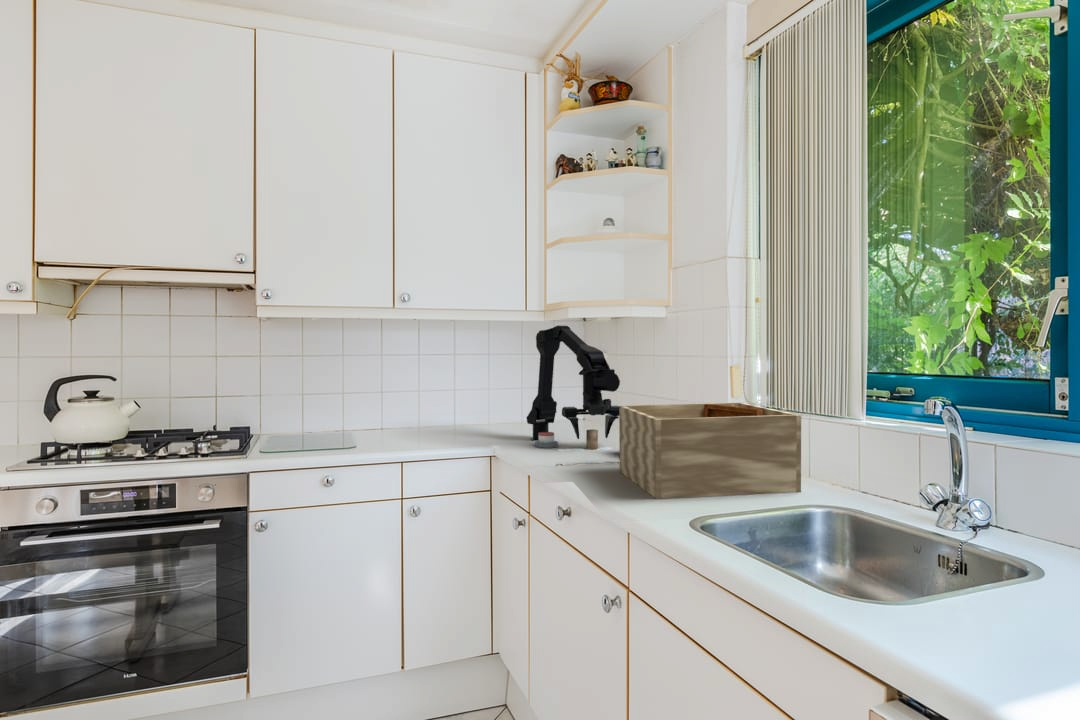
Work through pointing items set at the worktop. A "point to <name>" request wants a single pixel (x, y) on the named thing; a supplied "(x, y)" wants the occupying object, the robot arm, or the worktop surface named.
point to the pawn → (591, 439)
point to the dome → (546, 437)
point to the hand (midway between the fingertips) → (592, 438)
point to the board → (555, 444)
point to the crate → (709, 451)
